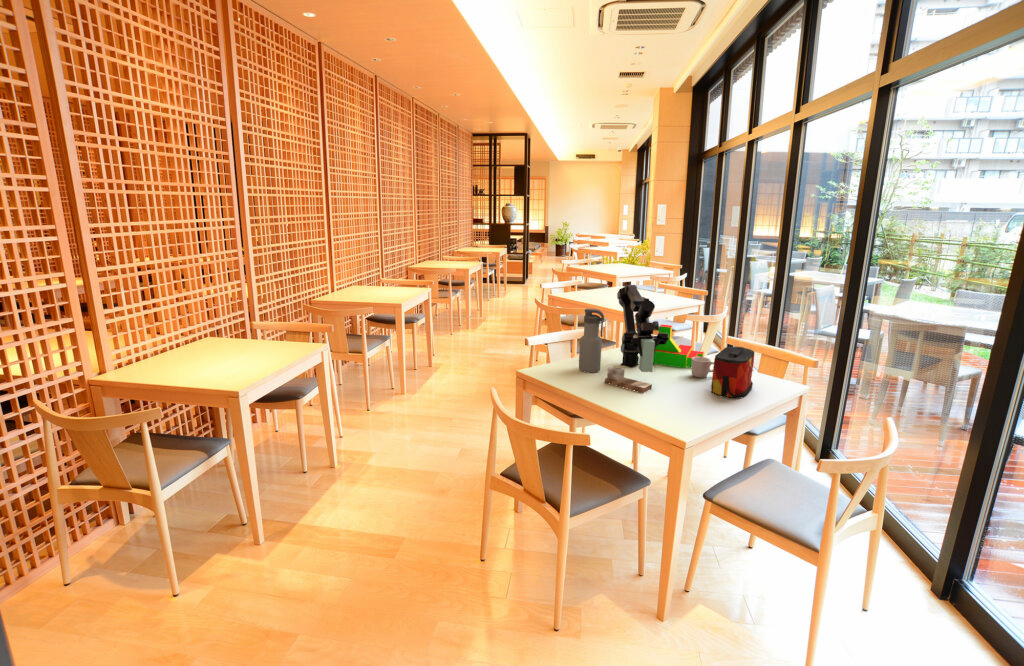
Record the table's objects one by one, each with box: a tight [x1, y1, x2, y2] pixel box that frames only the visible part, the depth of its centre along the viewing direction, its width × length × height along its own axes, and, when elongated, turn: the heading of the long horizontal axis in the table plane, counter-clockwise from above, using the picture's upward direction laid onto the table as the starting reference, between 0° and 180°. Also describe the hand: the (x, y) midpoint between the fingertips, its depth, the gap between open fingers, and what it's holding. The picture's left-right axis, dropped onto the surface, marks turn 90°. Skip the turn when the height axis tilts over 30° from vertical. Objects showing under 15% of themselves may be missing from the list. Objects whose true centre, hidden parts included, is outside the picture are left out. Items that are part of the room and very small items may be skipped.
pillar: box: [638, 339, 655, 373], centre depth 220 cm, size 4×4×13 cm
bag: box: [710, 346, 755, 399], centre depth 216 cm, size 30×14×16 cm, turn 145°
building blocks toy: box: [653, 324, 705, 369], centre depth 255 cm, size 19×25×18 cm
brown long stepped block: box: [604, 366, 653, 394], centre depth 219 cm, size 18×7×6 cm, turn 48°
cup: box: [691, 356, 714, 379], centre depth 233 cm, size 11×8×8 cm
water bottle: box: [578, 308, 605, 373], centre depth 237 cm, size 10×10×28 cm
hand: (647, 356), depth 219 cm, fingers closed on pillar, 4 cm apart
